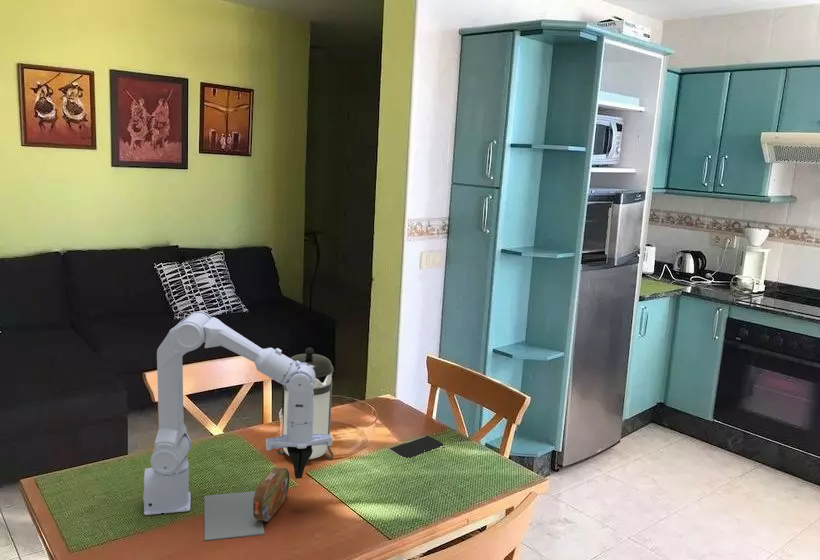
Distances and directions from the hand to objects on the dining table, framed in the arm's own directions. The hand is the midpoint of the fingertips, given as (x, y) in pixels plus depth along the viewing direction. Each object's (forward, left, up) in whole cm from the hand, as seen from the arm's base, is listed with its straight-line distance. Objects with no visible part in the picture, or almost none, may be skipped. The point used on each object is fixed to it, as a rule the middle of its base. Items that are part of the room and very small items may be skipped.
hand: (298, 476), depth 147 cm
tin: (-6, 0, -8) cm, 10 cm away
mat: (-14, 0, -8) cm, 16 cm away
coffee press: (+5, +27, -8) cm, 29 cm away
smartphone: (+37, +25, -9) cm, 45 cm away
